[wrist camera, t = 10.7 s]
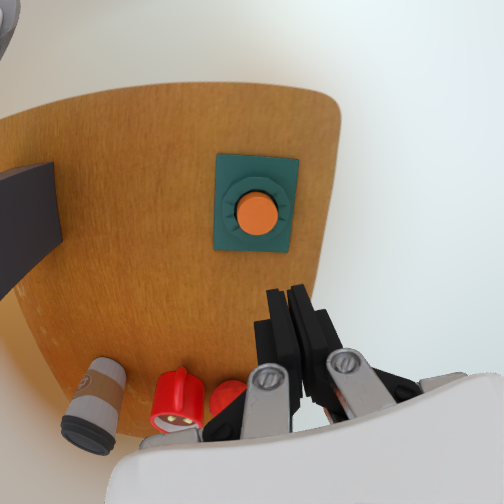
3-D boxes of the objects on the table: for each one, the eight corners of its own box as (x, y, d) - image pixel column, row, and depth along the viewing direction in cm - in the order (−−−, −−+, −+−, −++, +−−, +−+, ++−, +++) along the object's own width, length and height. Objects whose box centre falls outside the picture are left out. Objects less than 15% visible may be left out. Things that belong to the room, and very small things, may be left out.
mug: (208, 357, 37) (205, 401, 30) (203, 401, 42) (201, 439, 35) (154, 350, 36) (143, 392, 29) (159, 395, 41) (152, 432, 34)
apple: (269, 383, 40) (275, 420, 34) (237, 403, 43) (238, 438, 36) (231, 363, 38) (232, 404, 31) (199, 386, 40) (197, 423, 33)
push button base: (217, 153, 26) (215, 156, 23) (297, 159, 26) (303, 162, 24) (213, 247, 30) (212, 257, 27) (286, 250, 30) (291, 260, 28)
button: (237, 190, 25) (238, 195, 23) (276, 192, 26) (279, 198, 24) (235, 226, 27) (236, 234, 25) (272, 228, 27) (275, 236, 25)
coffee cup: (105, 345, 35) (72, 425, 22) (142, 377, 39) (124, 456, 25) (79, 359, 37) (49, 429, 23) (114, 388, 40) (94, 457, 27)
